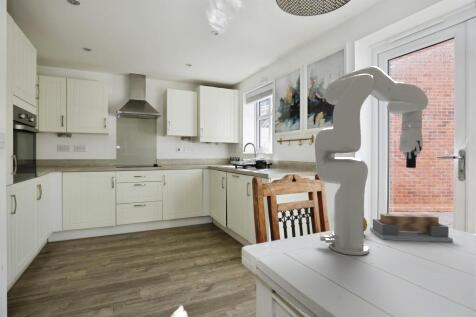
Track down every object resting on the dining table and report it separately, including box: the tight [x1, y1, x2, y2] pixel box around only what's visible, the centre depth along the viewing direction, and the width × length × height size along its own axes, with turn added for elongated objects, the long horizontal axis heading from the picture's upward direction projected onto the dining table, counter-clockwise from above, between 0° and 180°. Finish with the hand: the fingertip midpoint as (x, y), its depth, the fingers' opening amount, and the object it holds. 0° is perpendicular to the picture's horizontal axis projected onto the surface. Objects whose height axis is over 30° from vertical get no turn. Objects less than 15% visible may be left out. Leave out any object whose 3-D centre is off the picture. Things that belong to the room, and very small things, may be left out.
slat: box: [379, 213, 440, 232], centre depth 102 cm, size 20×4×6 cm, turn 84°
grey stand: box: [369, 218, 454, 243], centre depth 102 cm, size 25×12×5 cm, turn 84°
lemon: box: [364, 217, 368, 232], centre depth 104 cm, size 6×6×8 cm
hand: (410, 167), depth 111 cm, fingers closed
